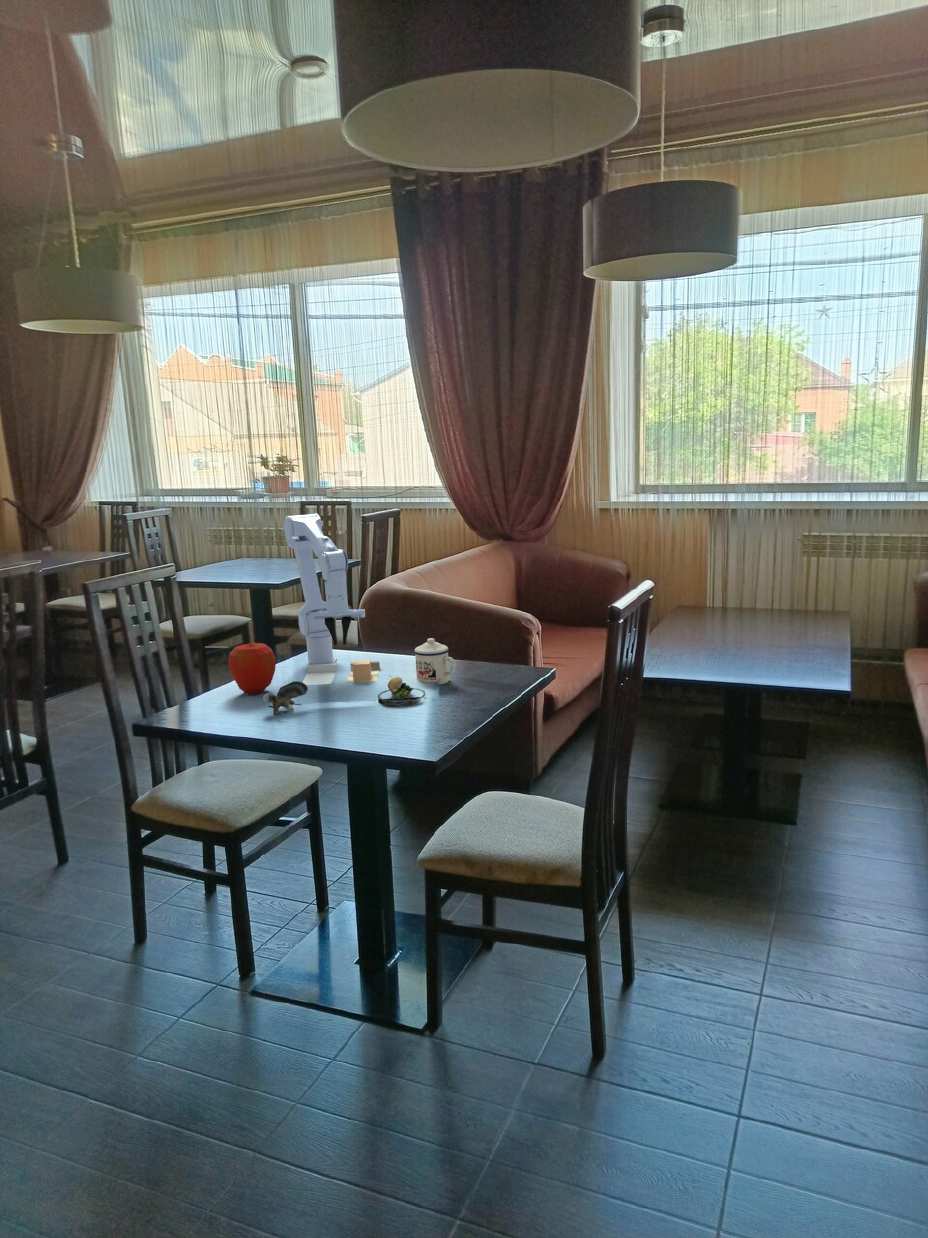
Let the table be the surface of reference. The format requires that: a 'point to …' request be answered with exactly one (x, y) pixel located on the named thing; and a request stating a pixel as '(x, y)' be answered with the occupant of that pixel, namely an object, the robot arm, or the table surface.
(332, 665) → the grey strip
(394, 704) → the burger
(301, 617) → the robot arm
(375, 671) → the beige lipped tray
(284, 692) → the grey-brown animal figure
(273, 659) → the apple
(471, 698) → the table surface
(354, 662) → the block
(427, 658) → the teacup with lid
